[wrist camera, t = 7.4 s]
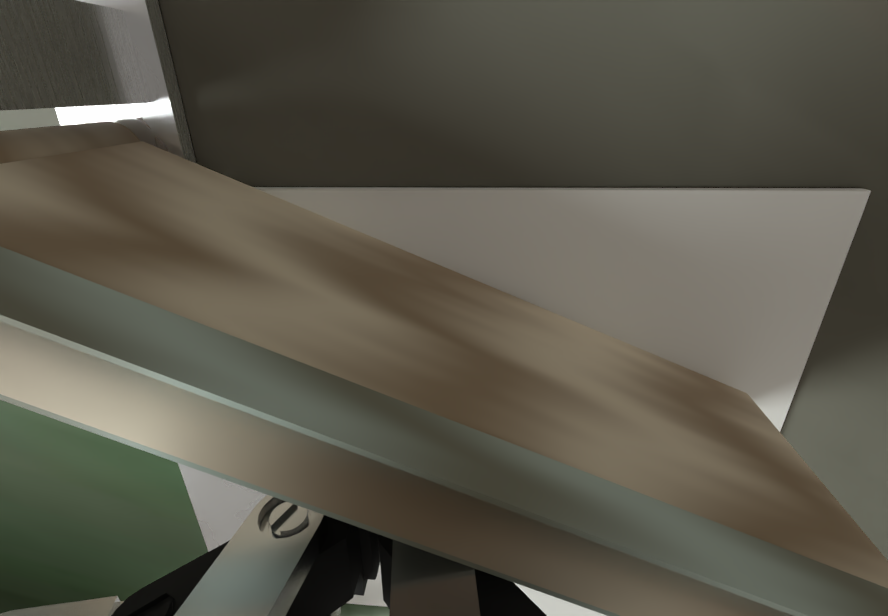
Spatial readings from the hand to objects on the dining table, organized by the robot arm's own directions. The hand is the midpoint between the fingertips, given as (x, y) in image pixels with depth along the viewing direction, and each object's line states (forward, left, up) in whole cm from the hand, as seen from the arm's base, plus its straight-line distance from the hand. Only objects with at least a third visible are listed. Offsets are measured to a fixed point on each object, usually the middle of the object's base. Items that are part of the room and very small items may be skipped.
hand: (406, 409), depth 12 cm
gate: (-3, 0, -2) cm, 3 cm away
